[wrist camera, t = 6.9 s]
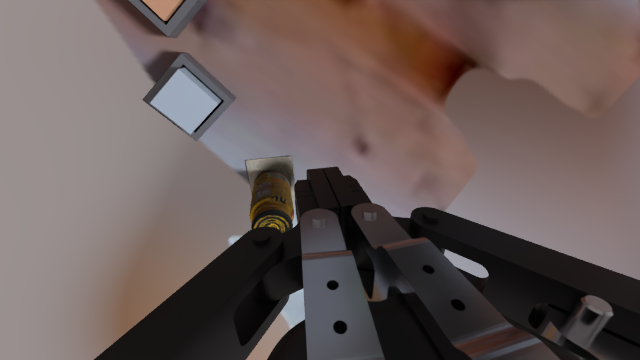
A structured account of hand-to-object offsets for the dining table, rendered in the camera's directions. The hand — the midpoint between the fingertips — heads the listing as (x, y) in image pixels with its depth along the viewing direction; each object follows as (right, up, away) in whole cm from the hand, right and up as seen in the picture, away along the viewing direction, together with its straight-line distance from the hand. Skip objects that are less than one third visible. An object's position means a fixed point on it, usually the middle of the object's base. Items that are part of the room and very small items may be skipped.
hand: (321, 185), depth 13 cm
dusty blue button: (-17, +11, +21) cm, 29 cm away
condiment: (-8, 0, +31) cm, 32 cm away
